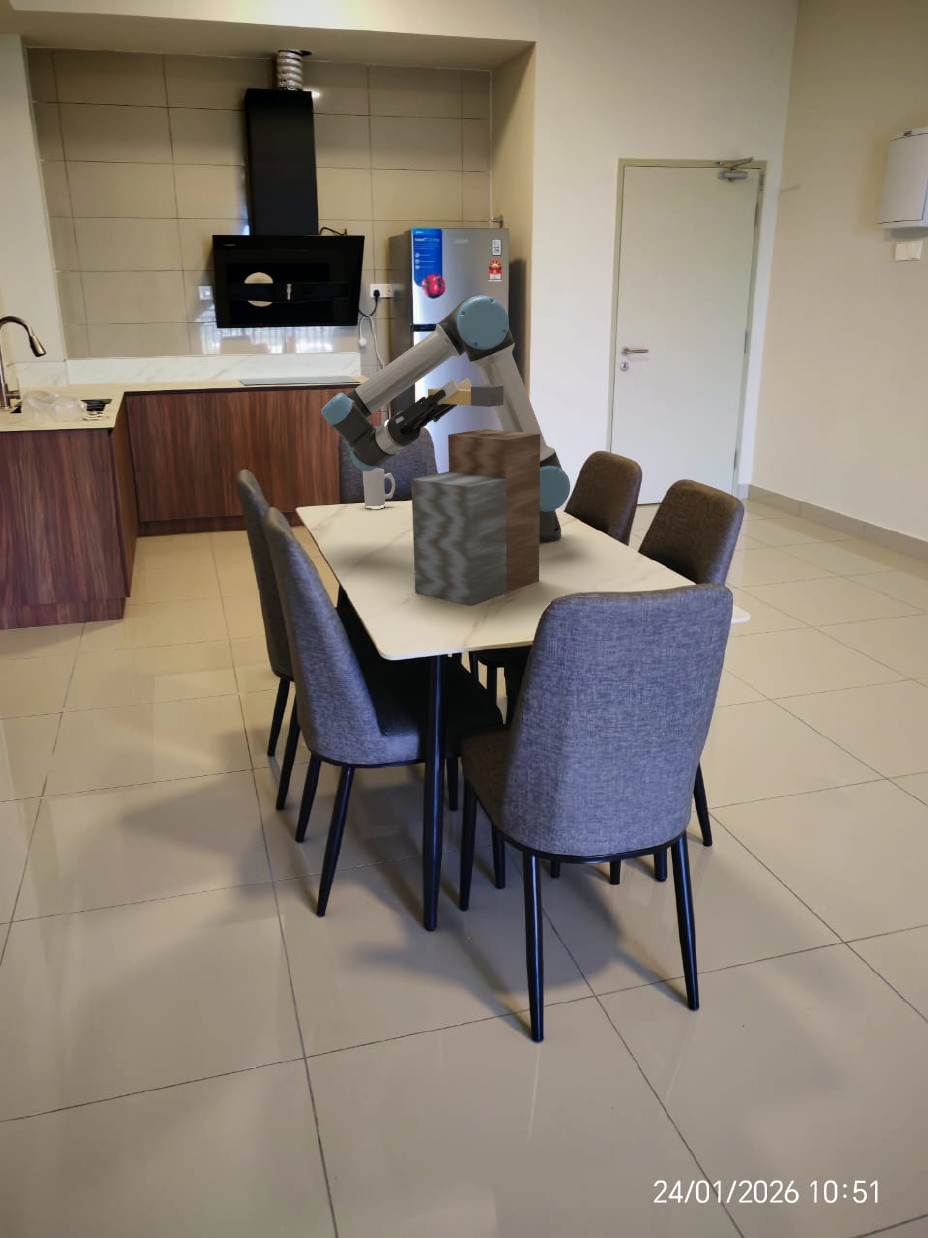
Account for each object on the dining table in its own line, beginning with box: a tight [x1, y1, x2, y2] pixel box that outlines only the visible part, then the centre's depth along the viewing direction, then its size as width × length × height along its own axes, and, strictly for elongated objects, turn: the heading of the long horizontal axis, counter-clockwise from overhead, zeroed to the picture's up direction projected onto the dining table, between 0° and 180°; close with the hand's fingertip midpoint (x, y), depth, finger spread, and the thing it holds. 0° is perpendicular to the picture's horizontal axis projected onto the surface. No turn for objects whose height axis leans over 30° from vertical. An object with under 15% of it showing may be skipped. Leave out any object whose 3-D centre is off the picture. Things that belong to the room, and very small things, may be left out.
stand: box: [410, 428, 540, 607], centre depth 202 cm, size 16×24×33 cm, turn 139°
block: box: [427, 384, 504, 408], centre depth 203 cm, size 18×5×4 cm, turn 50°
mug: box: [362, 467, 396, 507], centre depth 291 cm, size 10×7×12 cm, turn 95°
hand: (462, 384), depth 203 cm, fingers closed on block, 4 cm apart
